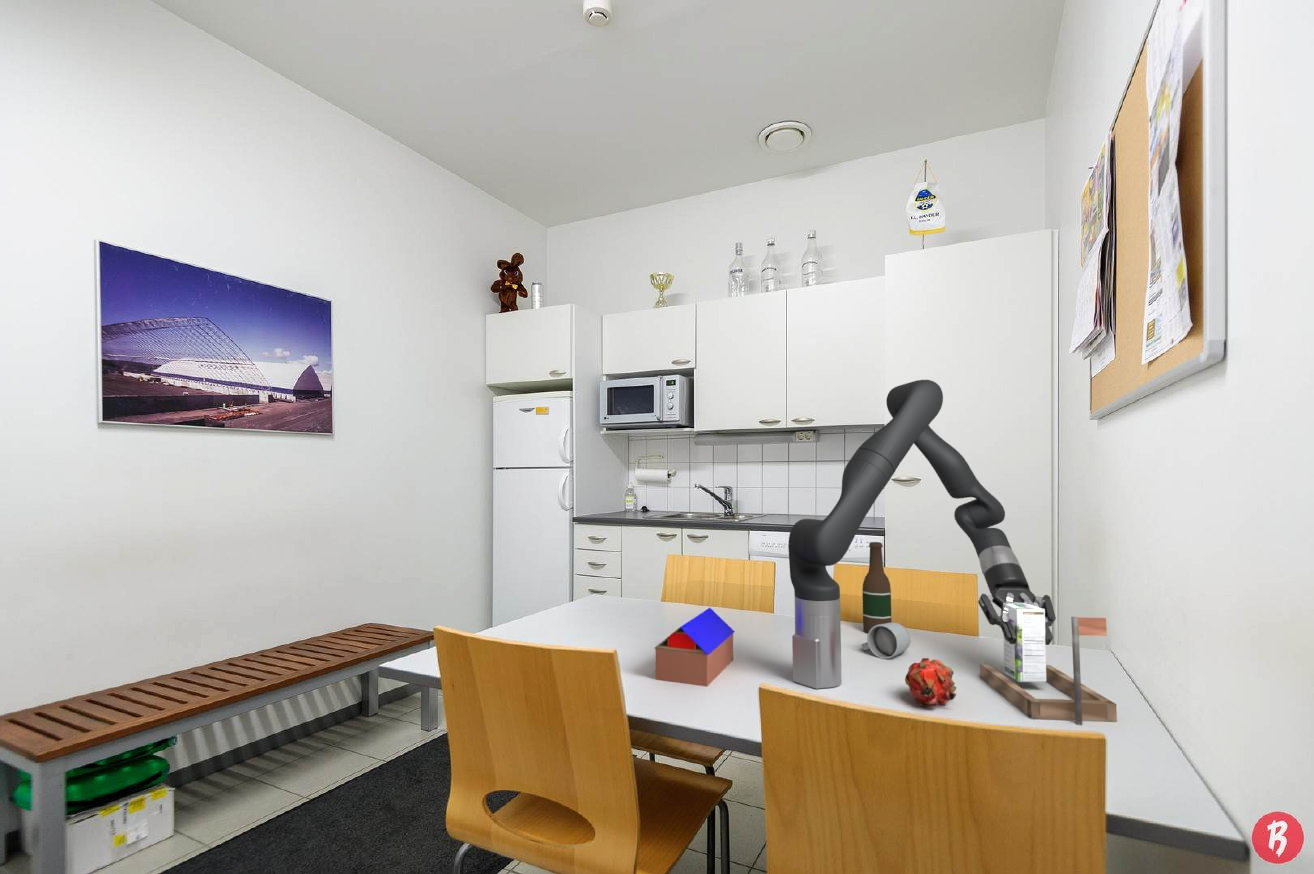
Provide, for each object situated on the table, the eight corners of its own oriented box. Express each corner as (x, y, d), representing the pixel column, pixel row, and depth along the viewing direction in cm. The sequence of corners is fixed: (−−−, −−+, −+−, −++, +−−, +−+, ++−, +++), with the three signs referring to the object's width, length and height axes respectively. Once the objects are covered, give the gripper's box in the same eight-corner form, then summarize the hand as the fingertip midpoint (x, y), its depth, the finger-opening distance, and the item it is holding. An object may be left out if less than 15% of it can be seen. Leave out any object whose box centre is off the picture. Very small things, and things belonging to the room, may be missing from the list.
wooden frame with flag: (980, 677, 132) (977, 591, 133) (1050, 679, 131) (1047, 592, 132) (1037, 723, 108) (1033, 617, 109) (1124, 726, 107) (1119, 618, 108)
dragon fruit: (939, 700, 124) (932, 731, 113) (900, 670, 127) (890, 697, 116) (966, 670, 121) (961, 699, 110) (926, 640, 124) (918, 666, 113)
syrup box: (1003, 673, 130) (1000, 601, 130) (1032, 673, 130) (1029, 601, 130) (1018, 682, 124) (1015, 607, 125) (1048, 682, 124) (1045, 607, 125)
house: (653, 680, 132) (653, 624, 132) (686, 654, 150) (686, 605, 151) (708, 688, 127) (707, 629, 128) (735, 660, 145) (734, 609, 146)
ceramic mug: (913, 654, 149) (911, 621, 150) (898, 662, 143) (897, 627, 144) (870, 646, 156) (869, 615, 157) (855, 653, 151) (853, 620, 151)
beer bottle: (897, 631, 170) (895, 542, 171) (885, 637, 164) (883, 544, 166) (869, 627, 175) (868, 540, 177) (857, 632, 170) (855, 542, 171)
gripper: (972, 560, 135) (998, 631, 123) (1043, 561, 134) (1076, 633, 121) (963, 581, 140) (987, 651, 128) (1031, 582, 139) (1062, 653, 126)
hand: (1030, 642), depth 124 cm, fingers closed on syrup box, 6 cm apart
